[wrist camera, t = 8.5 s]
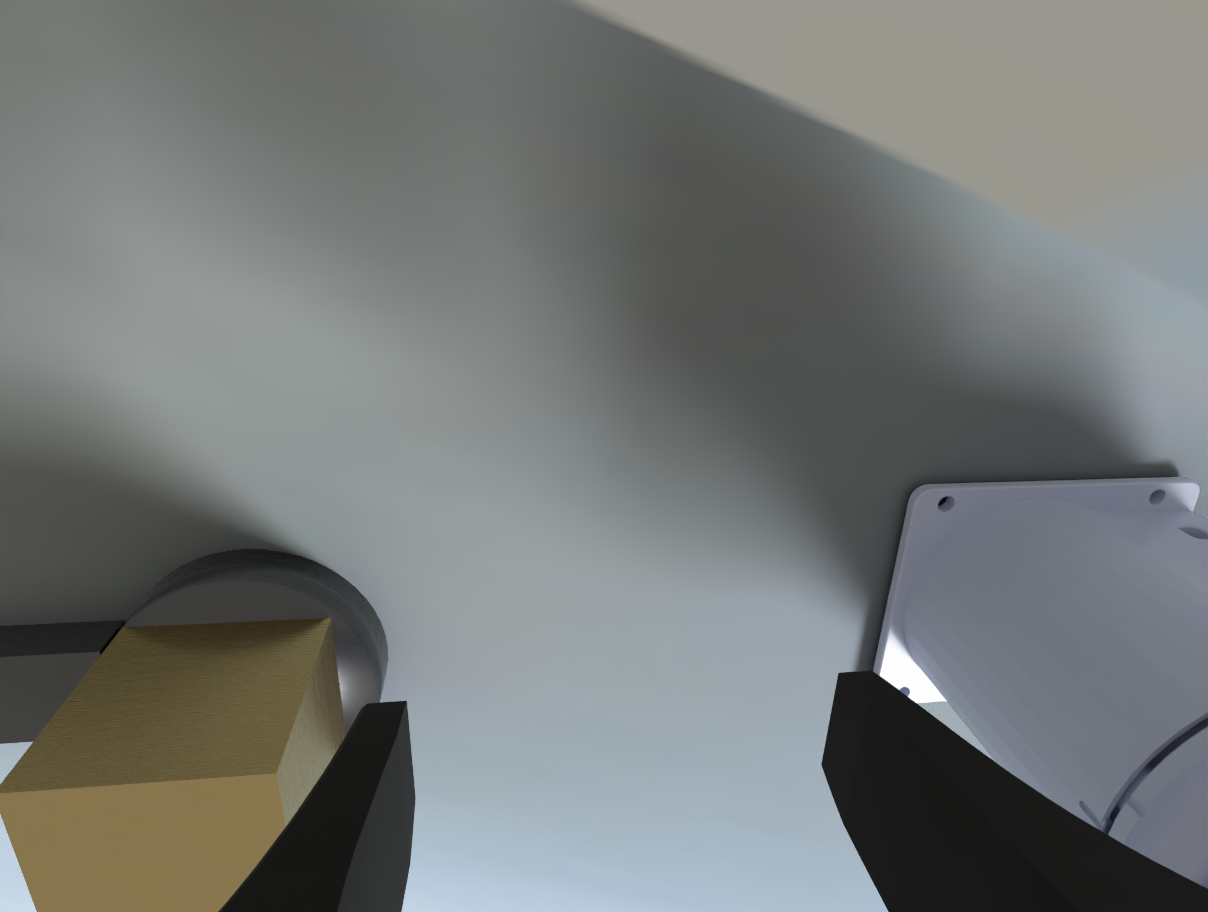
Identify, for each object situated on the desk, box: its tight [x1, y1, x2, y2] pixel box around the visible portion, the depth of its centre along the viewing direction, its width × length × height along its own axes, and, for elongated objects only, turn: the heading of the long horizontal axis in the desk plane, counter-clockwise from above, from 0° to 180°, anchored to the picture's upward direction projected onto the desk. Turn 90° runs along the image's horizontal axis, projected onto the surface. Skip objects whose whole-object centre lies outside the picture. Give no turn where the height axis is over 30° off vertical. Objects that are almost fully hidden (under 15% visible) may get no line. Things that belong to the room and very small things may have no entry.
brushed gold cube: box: [0, 618, 346, 912], centre depth 17 cm, size 5×5×5 cm
